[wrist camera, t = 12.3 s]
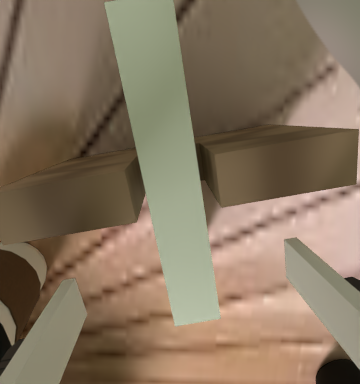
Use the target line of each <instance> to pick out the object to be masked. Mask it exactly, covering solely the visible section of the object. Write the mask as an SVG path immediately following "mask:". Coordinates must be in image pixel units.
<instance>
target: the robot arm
mask: <svg viewBox="0 0 360 384" xmlns="http://www.w3.org/2000/svg"><path fill="white" fill-rule="evenodd" d="M284 246H285V264H286V278H287V279H288V280H289V281H290V283H291V284H292V285H293V286H294V288H295V289H296V290H297V292H298V293H299V294H300V295H301V297H302V298H303V299H304V300H305V302H306V303H307V304H308V305H309V307H310V308H311V309H312V310H313V312H314V313H315V314H316V315H317V317H318V318H319V319H320V320H321V322H322V323H323V324H324V326H325V327H326V328H327V329H328V331H329V332H330V333H331V334H332V336H333V337H334V338H335V339H336V341H337V342H338V343H339V344H340V346H341V347H342V348H343V349H344V351H345V352H346V353H347V354H348V356H349V357H350V358H351V360H352V361H353V362H354V363H355V365H356V366H357V367H358V368H359V370H360V280H358V279H356V278H354V277H348V278H343V277H342V276H340V275H339V274H338V273H337V272H336V271H335V270H333V269H332V268H331V267H330V266H329V265H328V264H327V263H325V262H324V261H323V260H322V259H321V258H320V257H318V256H317V255H316V254H315V253H314V252H313V251H311V250H310V249H309V248H308V247H307V246H306V245H304V244H303V243H302V242H301V241H300V240H299V239H297V238H290V239H285V240H284ZM86 316H87V312H86V309H85V306H84V303H83V300H82V297H81V294H80V291H79V288H78V285H77V282H76V279H75V278H72V279H67V280H63V281H62V282H61V284H60V285H59V287H58V288H57V290H56V292H55V293H54V295H53V296H52V298H51V299H50V301H49V302H48V304H47V305H46V307H45V308H44V310H43V312H42V313H41V315H40V316H39V318H38V319H37V321H36V322H35V324H34V325H33V327H32V328H31V330H30V332H29V333H28V335H27V336H26V338H25V339H19V340H18V341H17V342H16V343H15V344H14V345H12V346H11V347H10V348H9V349H8V350H7V352H6V353H5V355H4V356H3V358H2V359H1V362H0V384H59V383H60V381H61V378H62V376H63V373H64V371H65V368H66V366H67V363H68V361H69V358H70V356H71V353H72V351H73V349H74V346H75V344H76V341H77V339H78V336H79V334H80V331H81V329H82V326H83V324H84V321H85V319H86Z"/></svg>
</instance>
